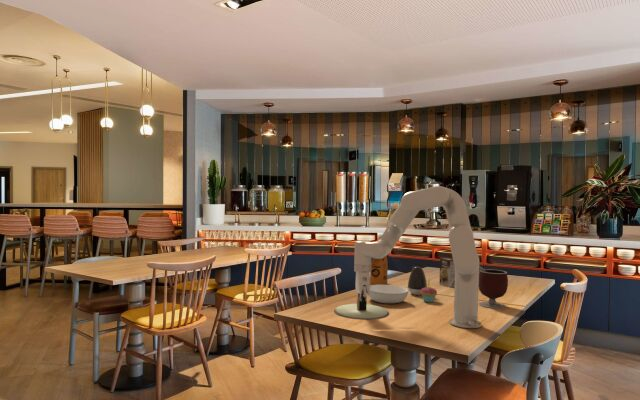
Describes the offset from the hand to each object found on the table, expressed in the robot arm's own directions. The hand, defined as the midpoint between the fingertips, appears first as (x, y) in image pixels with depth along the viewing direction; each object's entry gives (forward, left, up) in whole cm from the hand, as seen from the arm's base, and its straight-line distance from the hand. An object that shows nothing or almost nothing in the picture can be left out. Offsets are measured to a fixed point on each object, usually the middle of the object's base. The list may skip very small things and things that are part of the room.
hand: (361, 308), depth 208 cm
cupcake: (+23, -40, -2) cm, 46 cm away
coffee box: (+64, -68, -3) cm, 93 cm away
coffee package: (+68, -26, -3) cm, 73 cm away
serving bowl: (+22, -18, -3) cm, 29 cm away
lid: (0, 0, -2) cm, 2 cm away
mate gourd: (+12, -68, -2) cm, 69 cm away
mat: (0, 0, -2) cm, 2 cm away
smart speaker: (+40, -40, -2) cm, 57 cm away
